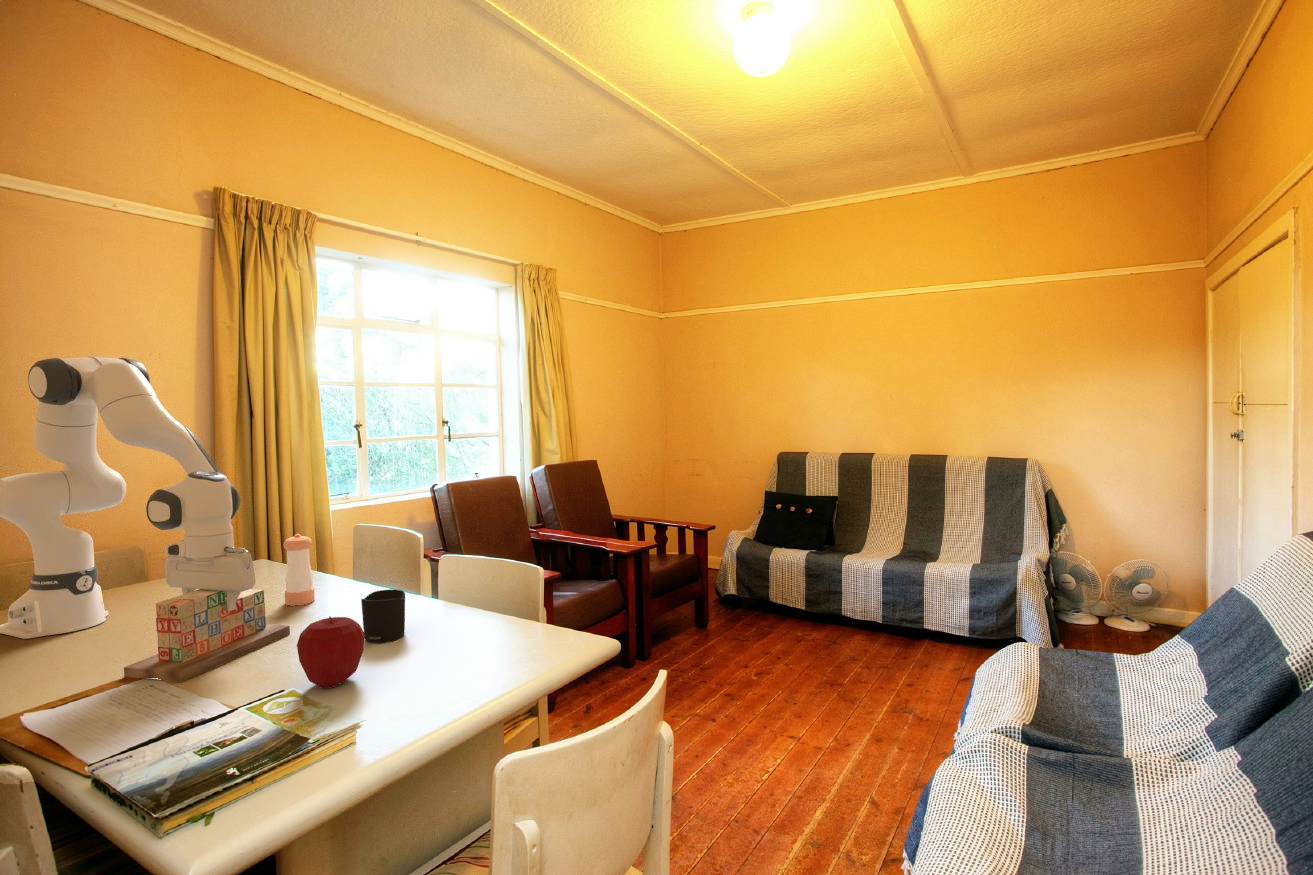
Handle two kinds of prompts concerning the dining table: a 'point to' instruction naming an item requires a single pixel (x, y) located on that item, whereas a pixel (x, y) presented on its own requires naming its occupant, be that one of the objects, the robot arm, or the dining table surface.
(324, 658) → the apple
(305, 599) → the pepper shaker
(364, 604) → the pen holder
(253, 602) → the stack of blocks
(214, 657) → the walnut board
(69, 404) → the robot arm
